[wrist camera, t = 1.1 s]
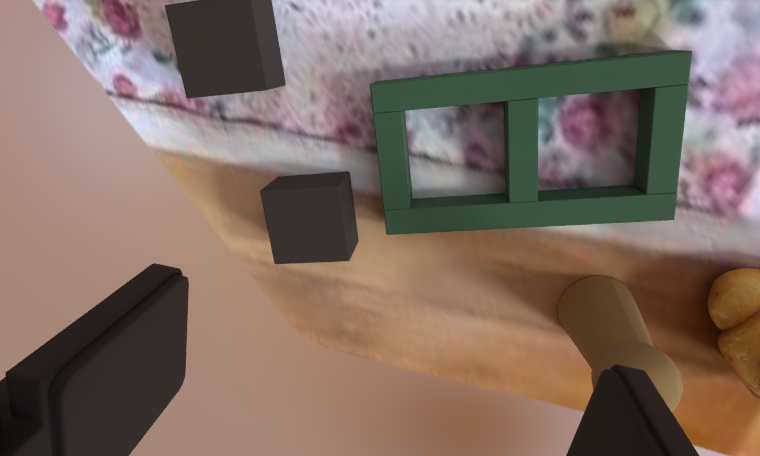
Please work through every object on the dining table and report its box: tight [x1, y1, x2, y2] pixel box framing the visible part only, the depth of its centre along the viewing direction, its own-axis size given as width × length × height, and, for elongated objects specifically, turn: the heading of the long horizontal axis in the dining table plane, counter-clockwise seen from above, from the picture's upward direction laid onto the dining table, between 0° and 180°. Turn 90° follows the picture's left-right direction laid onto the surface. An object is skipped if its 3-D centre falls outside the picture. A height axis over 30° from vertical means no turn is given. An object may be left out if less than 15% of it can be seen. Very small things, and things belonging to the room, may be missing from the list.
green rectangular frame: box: [370, 50, 692, 235], centre depth 35 cm, size 11×20×2 cm, turn 96°
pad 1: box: [165, 0, 285, 98], centre depth 34 cm, size 6×6×4 cm
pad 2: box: [260, 172, 358, 264], centre depth 38 cm, size 6×6×4 cm
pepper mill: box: [557, 276, 683, 412], centre depth 35 cm, size 6×6×11 cm
